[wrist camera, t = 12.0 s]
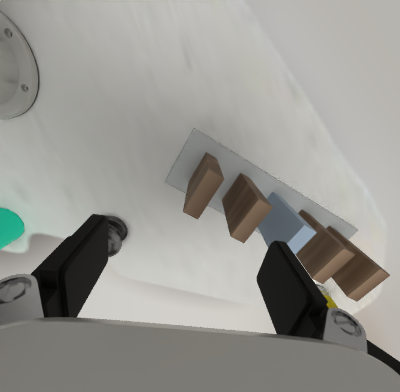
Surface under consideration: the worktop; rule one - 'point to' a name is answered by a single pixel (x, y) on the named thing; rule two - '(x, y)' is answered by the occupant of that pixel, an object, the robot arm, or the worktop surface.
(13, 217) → the candle
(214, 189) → the tile
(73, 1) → the worktop surface
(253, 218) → the tile
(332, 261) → the tile
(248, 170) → the mat
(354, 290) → the tile
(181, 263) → the worktop surface
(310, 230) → the slate tile
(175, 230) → the worktop surface
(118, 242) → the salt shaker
